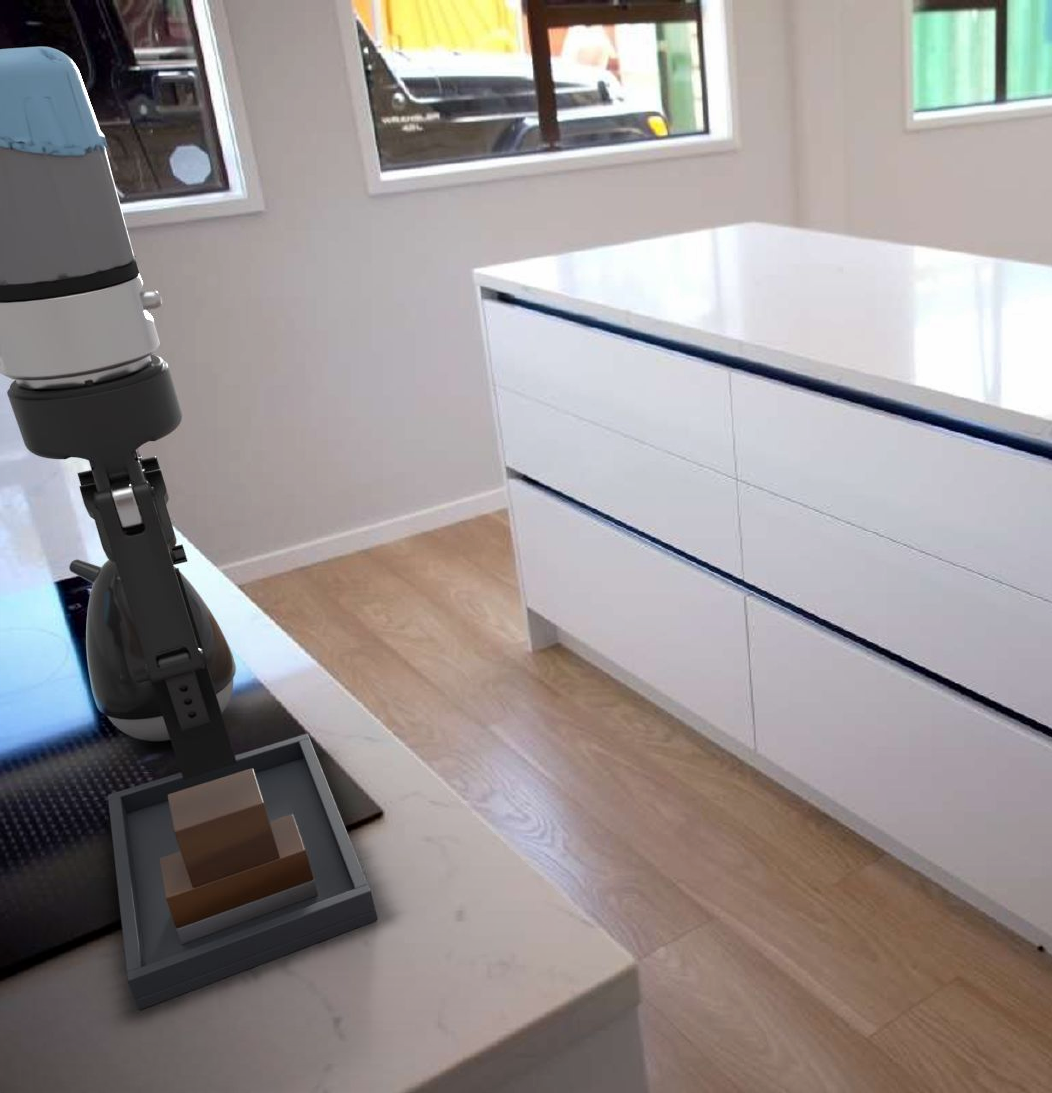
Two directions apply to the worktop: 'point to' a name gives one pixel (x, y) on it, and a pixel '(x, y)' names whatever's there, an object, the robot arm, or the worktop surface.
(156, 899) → the tray
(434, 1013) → the worktop surface
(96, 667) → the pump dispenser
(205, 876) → the brown t-shaped block
